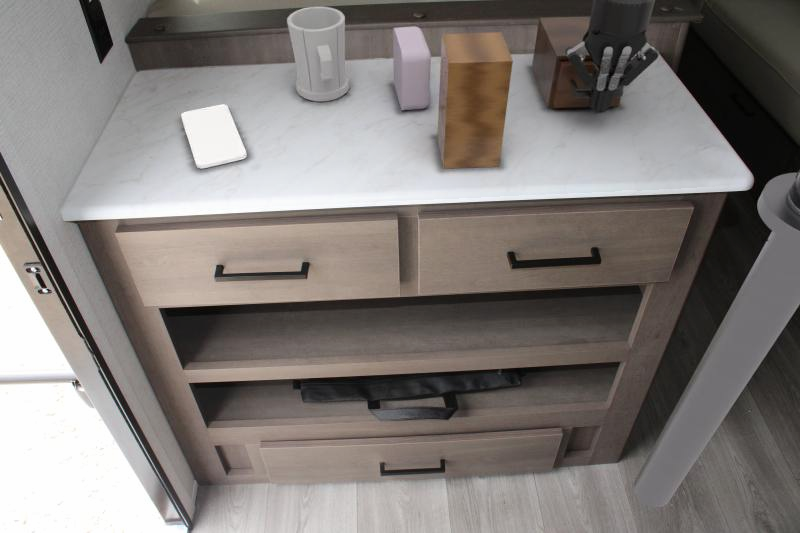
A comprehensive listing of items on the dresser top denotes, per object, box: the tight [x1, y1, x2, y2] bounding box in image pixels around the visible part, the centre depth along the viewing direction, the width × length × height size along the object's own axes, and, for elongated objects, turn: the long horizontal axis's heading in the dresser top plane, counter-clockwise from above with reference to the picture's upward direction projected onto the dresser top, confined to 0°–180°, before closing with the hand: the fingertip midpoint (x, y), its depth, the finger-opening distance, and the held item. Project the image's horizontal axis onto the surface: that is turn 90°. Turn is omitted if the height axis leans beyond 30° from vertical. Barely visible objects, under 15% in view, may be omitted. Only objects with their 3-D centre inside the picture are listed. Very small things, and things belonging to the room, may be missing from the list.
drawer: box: [552, 60, 627, 109], centre depth 99 cm, size 17×10×7 cm, turn 2°
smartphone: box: [180, 103, 248, 169], centre depth 95 cm, size 7×1×15 cm
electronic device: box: [392, 25, 432, 111], centre depth 100 cm, size 10×5×10 cm, turn 8°
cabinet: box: [531, 16, 632, 110], centre depth 102 cm, size 13×11×9 cm
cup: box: [286, 6, 350, 103], centre depth 100 cm, size 10×9×12 cm
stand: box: [437, 31, 514, 169], centre depth 86 cm, size 8×8×16 cm
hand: (598, 109), depth 93 cm, fingers closed
